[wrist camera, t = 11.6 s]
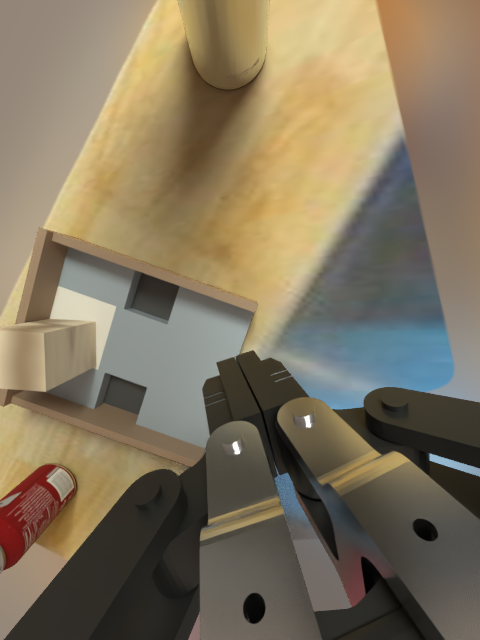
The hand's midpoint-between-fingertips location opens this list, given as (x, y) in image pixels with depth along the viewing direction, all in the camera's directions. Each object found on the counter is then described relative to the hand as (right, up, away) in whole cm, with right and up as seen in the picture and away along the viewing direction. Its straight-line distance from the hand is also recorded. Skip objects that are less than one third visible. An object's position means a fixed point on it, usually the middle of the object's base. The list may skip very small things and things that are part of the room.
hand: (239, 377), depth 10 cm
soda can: (-28, -22, +31) cm, 47 cm away
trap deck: (-14, -1, +28) cm, 31 cm away
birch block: (-22, -1, +25) cm, 34 cm away
